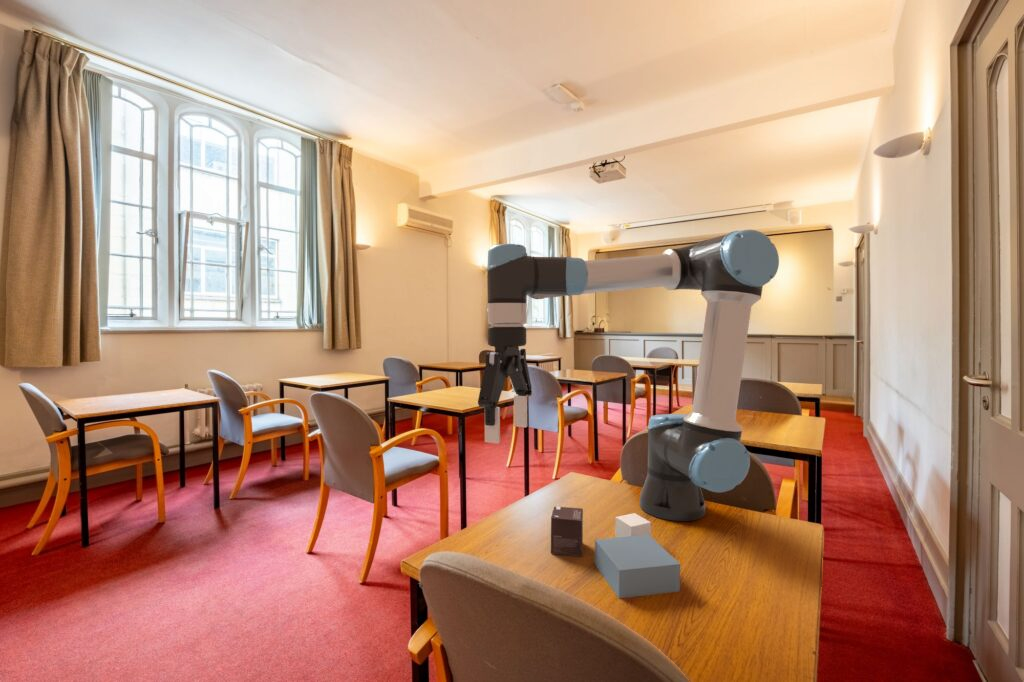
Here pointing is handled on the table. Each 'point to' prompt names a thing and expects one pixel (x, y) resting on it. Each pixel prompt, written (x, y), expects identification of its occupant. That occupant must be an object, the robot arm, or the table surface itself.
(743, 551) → the table surface
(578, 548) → the box
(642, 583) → the slate block
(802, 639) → the table surface
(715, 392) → the robot arm
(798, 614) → the table surface
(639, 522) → the white cube
